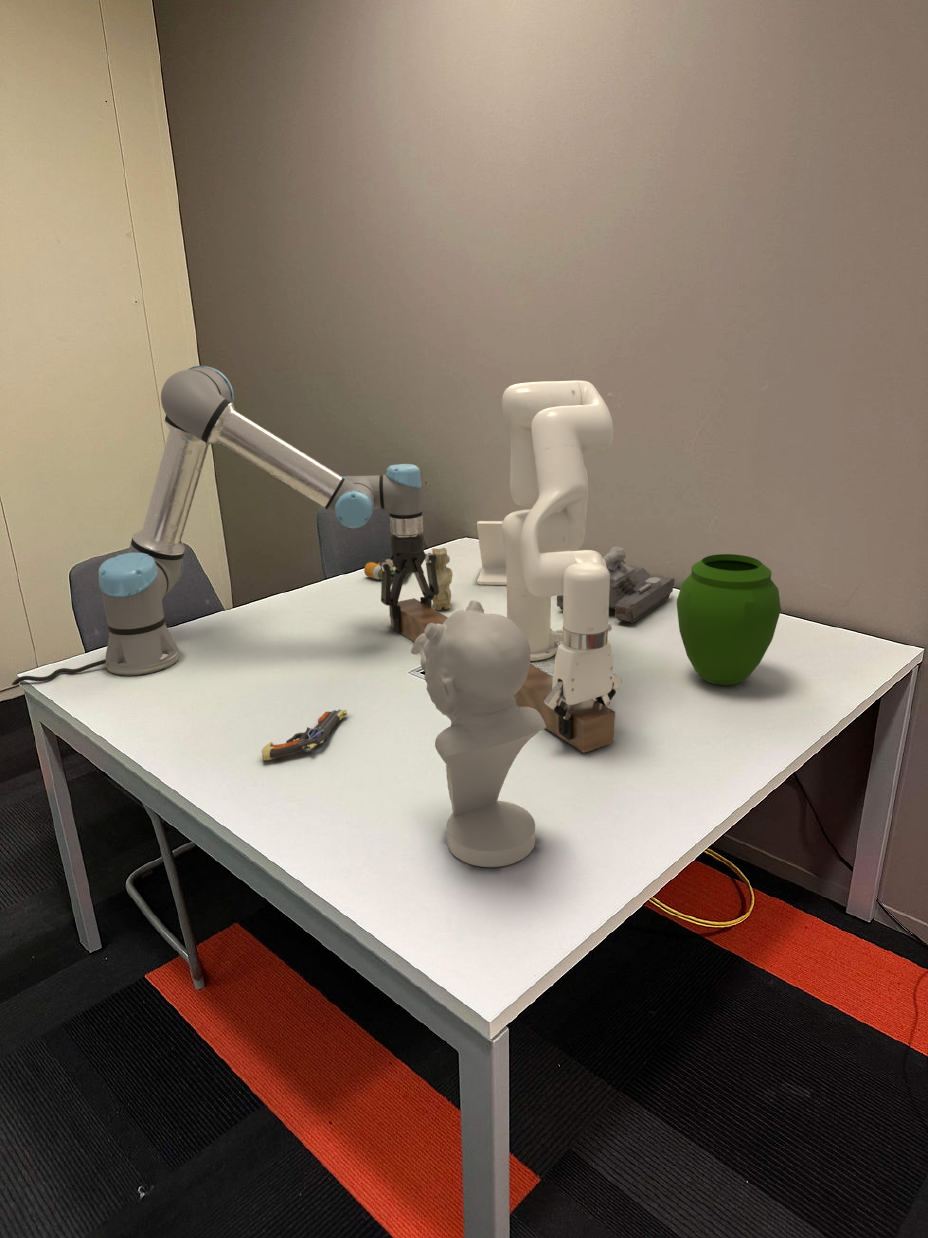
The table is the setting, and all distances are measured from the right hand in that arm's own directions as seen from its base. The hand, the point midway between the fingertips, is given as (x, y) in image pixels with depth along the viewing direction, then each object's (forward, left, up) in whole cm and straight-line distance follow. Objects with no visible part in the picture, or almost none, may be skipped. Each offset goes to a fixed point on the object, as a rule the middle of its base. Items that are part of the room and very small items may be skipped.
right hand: (582, 730), depth 149 cm
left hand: (+20, -62, -2) cm, 65 cm away
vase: (-36, -17, -2) cm, 39 cm away
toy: (-32, -64, -2) cm, 71 cm away
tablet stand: (-17, -94, -2) cm, 95 cm away
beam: (+10, -31, -2) cm, 33 cm away
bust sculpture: (+25, +22, -2) cm, 33 cm away
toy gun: (+47, -14, -2) cm, 49 cm away
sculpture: (+10, -75, -2) cm, 75 cm away
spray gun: (+18, -106, -2) cm, 107 cm away
